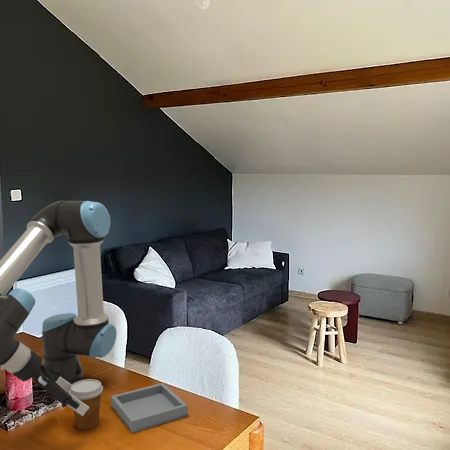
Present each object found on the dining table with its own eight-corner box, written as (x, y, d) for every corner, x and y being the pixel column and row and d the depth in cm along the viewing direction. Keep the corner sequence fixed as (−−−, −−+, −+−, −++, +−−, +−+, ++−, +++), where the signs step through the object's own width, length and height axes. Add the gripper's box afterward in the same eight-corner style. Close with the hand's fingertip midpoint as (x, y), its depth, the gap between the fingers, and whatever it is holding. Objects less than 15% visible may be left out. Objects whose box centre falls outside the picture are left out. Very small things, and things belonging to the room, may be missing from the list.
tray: (111, 406, 150) (111, 396, 150) (162, 392, 159) (162, 383, 159) (131, 433, 135) (131, 421, 134) (187, 416, 144) (187, 405, 144)
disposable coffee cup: (94, 434, 134) (93, 394, 133) (64, 431, 136) (62, 391, 134) (109, 417, 143) (108, 380, 142) (80, 414, 145) (79, 377, 144)
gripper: (5, 357, 137) (60, 394, 146) (18, 392, 116) (81, 432, 125) (24, 337, 139) (76, 374, 148) (40, 366, 118) (101, 408, 127)
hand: (79, 401), depth 137 cm, fingers open, 13 cm apart
